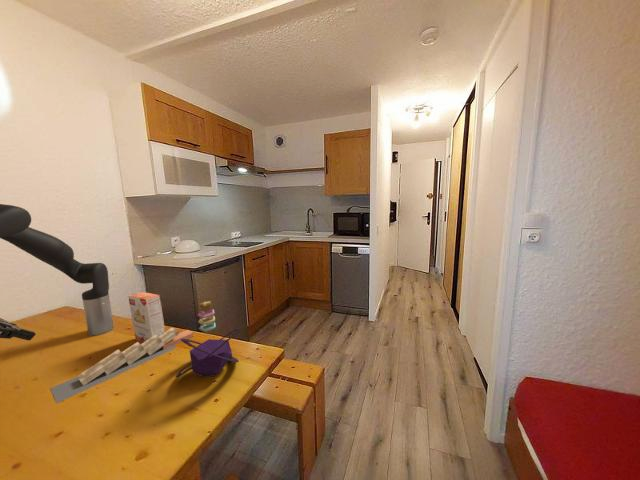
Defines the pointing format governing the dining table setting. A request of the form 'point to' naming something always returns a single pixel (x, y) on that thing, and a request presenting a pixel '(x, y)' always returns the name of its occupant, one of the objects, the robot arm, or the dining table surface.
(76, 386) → the slate mat
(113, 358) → the tile
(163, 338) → the tall wooden block
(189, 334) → the end tile
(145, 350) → the tile
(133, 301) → the cracker box
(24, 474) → the dining table surface
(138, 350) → the tile
